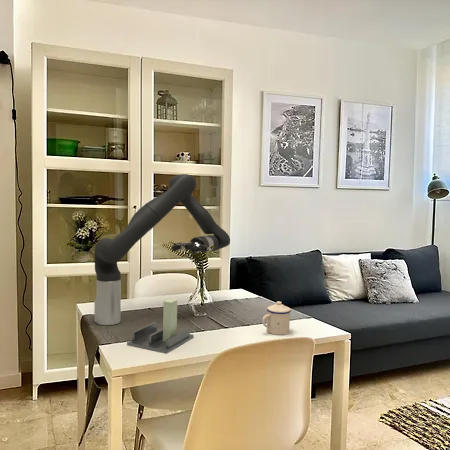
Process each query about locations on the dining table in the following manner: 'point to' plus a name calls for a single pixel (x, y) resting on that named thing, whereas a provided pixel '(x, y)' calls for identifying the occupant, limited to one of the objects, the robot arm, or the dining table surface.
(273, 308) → the teacup with lid
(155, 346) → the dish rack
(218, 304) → the dining table surface
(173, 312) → the pale green rectangular block
